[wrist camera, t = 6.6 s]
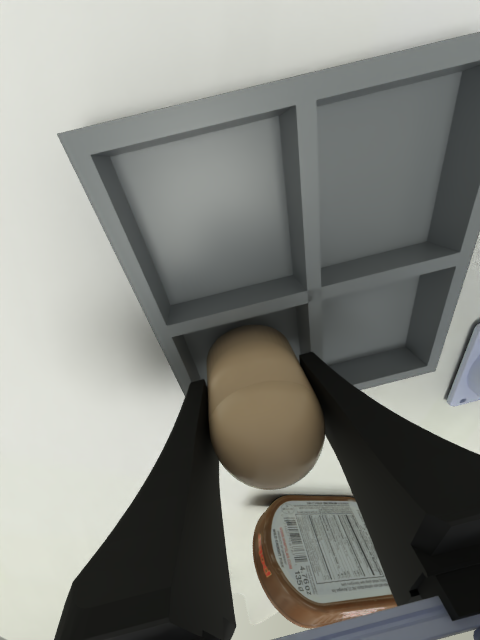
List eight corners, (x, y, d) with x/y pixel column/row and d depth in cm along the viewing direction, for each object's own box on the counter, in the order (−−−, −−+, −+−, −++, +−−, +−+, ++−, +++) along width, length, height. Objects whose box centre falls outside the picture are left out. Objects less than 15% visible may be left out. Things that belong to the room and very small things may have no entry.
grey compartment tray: (473, 47, 9) (548, 15, 7) (408, 347, 16) (435, 371, 14) (87, 140, 9) (56, 133, 7) (201, 399, 16) (201, 430, 14)
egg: (287, 315, 12) (352, 423, 7) (294, 380, 14) (345, 495, 9) (195, 337, 12) (193, 463, 7) (218, 398, 14) (228, 525, 9)
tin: (244, 505, 25) (263, 640, 18) (256, 489, 24) (280, 629, 16) (362, 506, 29) (415, 614, 22) (378, 492, 28) (439, 603, 21)
